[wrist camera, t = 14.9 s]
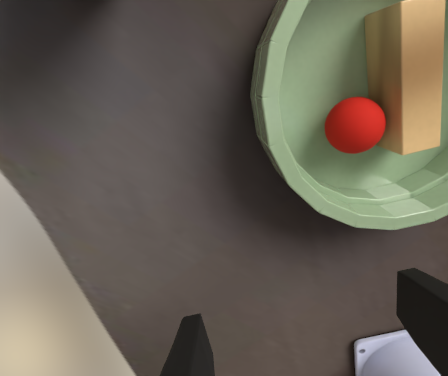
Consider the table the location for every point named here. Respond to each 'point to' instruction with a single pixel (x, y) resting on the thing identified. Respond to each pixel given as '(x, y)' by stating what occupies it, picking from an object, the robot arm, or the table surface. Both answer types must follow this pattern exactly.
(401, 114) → the block
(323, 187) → the bowl
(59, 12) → the table surface
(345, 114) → the ball
